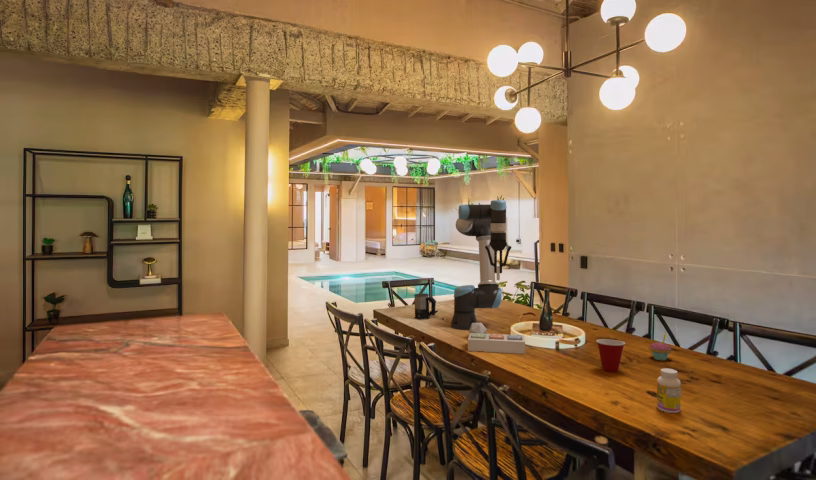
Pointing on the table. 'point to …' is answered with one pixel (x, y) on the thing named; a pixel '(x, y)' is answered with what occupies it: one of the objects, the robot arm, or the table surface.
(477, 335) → the sage tile
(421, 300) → the milk frother
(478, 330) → the die
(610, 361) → the plastic cup
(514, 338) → the slate tile
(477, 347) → the keypad housing
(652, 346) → the cupcake
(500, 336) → the terracotta tile
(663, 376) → the supplement bottle
